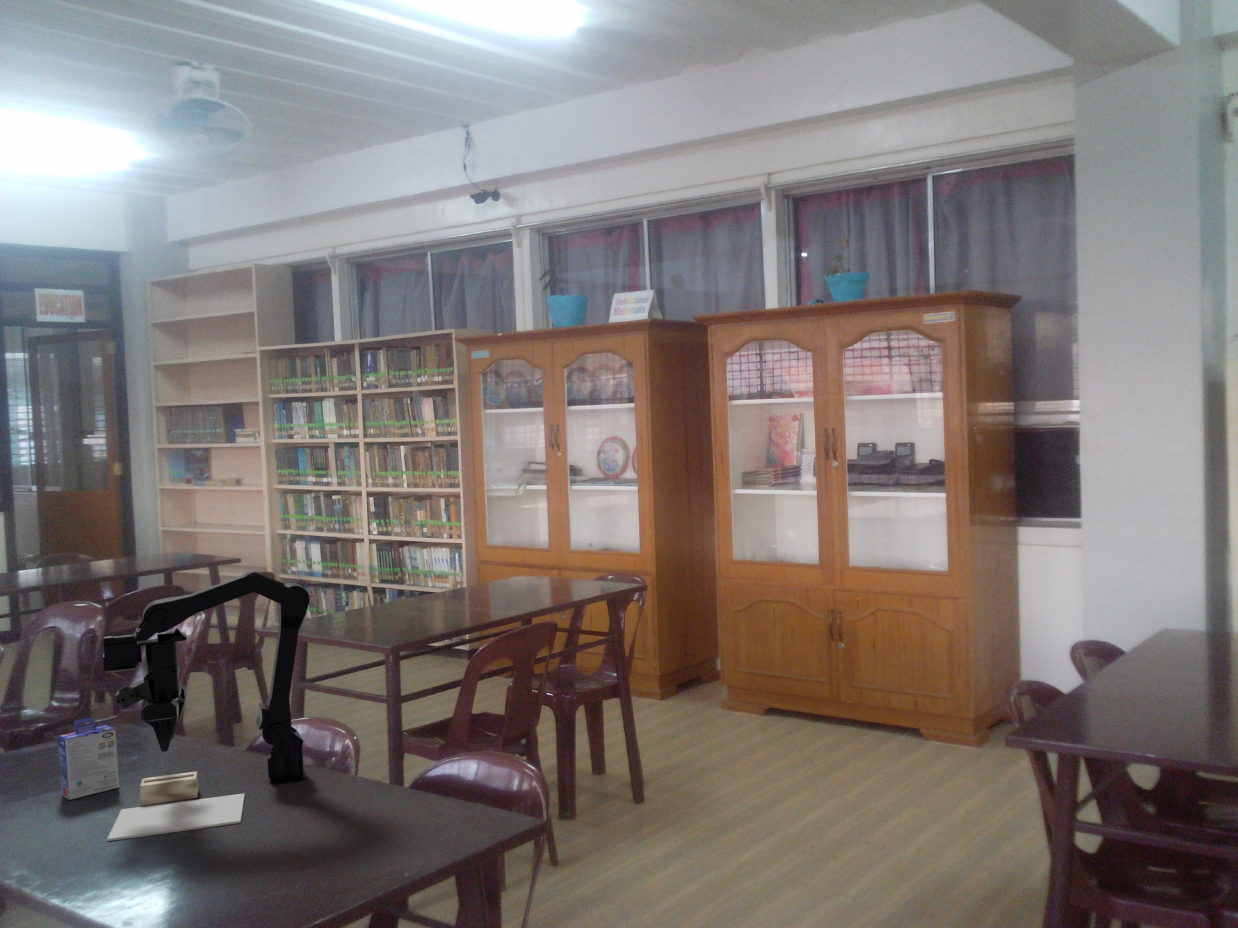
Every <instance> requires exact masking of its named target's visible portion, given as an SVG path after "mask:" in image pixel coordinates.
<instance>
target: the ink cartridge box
mask: <svg viewBox="0 0 1238 928" xmlns="http://www.w3.org/2000/svg"><path fill="white" fill-rule="evenodd" d="M73 723H74V728H75V729H74V730H75V732H70V733H65V734H62V735H57V745H58V746H57V747H58V757H59V758H58V759H59V769H60V783H61V796H62V797H64V798H66V800H68V801H70V800H71V801H72V800H76V799H79V798H83V797H87V796H90V795H94V794H99V793H102V792H103V793H104V792H107V791H111V790H113V789H114V790H115V789H119V788H120V777H119V764H118V762H119V761H118V747H117V745H118V744H117V732H116V731H117V730H116V728H115V727H113V726H111V725H109V724H105V725H99V726H96V724H95V720H94V718H93V717H87V718H83V719H78V720H77V719H76V720H74V721H73ZM82 723H90V724H88V725H83V726H79V725H81V724H82Z"/></svg>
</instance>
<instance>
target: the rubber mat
mask: <svg viewBox="0 0 1238 928" xmlns="http://www.w3.org/2000/svg"><path fill="white" fill-rule="evenodd" d="M245 796H246V793H237V794H230V795H229V794H228V795H222V796H221V795H220V796H214V797H206V798H200V799H199V798H198V799H189V800H181V801H176V802H175V801H174V802H166V803H158V804H151V805H143V806H138V807H130V808H122V809H120V812H119V814H118V816H117V818H116V820H115V823H114V824H113V826H112V828H111V830H110V832H109V834H108V835H107V838H106V842H113V841H118V840H127V839H132V838H140V837H148V836H149V837H150V836H154V835H162V834H170V833H175V832H177V833H178V832H183V831H185V832H186V831H191V830H199V829H206V828H213V827H220V826H229V825H235V824H241V822H242V817H243V816H242V815H243V809H244V803H245Z"/></svg>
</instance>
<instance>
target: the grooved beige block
mask: <svg viewBox="0 0 1238 928" xmlns="http://www.w3.org/2000/svg"><path fill="white" fill-rule="evenodd" d="M198 779H199V778H198V771H190V772H183V773H182V772H181V773H174V774H167V775H159V776H153V777H146V778H142V779H141V782H140V785H139V791H140V792H139V793H140V807H143V806H150V805H157V804H164V803H171V802H175V801H176V802H178V801H185V800H192V799H197V798H198V794H199V782H198V781H199V780H198Z"/></svg>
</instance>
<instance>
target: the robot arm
mask: <svg viewBox="0 0 1238 928" xmlns="http://www.w3.org/2000/svg"><path fill="white" fill-rule="evenodd" d="M253 593H255V594H258V595H259V596H262V597H263V598H266V599H268V600H270V601H273V602H275V603H276V611H277V623H278V624H277V625H278V630H277V631H278V632H277V638H276V645H275V651H274V660H273V667H272V673H271V680H270V688H269V695H268V697H267V698H266V699H267V700H266V701H265V703H260V702H259V703H258V716H257V718H256V720H255V723H256V724H255V725H256V727H257V728H258V730H259V732H260V735H261V737H262V739H263V741H264V742H265V743H266V744H268V745H270V746H271V747H270V749H269V750H270V751H269V752H270V753H269V754H268V755H267V773H268V779H269V780H270V784H278V783H279V784H280V783H286V782H294V781H295V782H297V781H304V780H305V778H306V777H305V770H306V769H305V768H304V767H305V766H304V750H303V744H304V740H303V738H302V736H301V735H300V733H299V731H298V730H297V729H296V728H295V727H293V726H292V725H293V724H292V711H291V701H290V697H291V690H292V682H293V675H294V669H295V663H296V662H295V661H296V655H297V654H296V653H297V646H298V638H299V633H300V630H301V629H300V628H301V627H302V625H303V623H304V622H303V621H304V620H305V618H306V615H307V611H308V608H309V605H310V601H311V600H310V599H311V598H310V597H311V596H310V594H309V592H308V591H307V589H306V588H304V587H303V586H302V585H300V584H298V583H296V582H288V583H284V582H282V581H279V580H276V579H275V578H271V577H269V576H267V575H264V574H262V573H260V571H258V570H249V571H247V572H246V573H244V574H242V575H240V576H239V575H238V576H237V577H234V578H231V579H228V580H226V581H222V582H219V583H217V584H215V585H211V586H209V587H206V588H203V589H201V590H198V591H196V592H193V593H189V594H186V595H179V596H171V597H165V598H160V599H156V600H152V601H151V602H149V603H148V604H146V606H145V608H144V609H143V615H142V621H141V622H140V623H139V625H138V627H136V628H135V631H134V632H133V634H124V635H118V636H117V635H116V636H115V635H109V636H108V635H107V636H104V637H103V638H102V639H103V641H102V642H103V655H102V661H103V664H102V665H103V672H104V673H106V674H107V673H115V672H122V671H123V672H124V671H129V670H137V666H139V664H142V663H143V660H142V659H143V656H142V655H143V654H142V647H143V646H144V653H145V666H146V671H145V675H143V679H141V680H139V681H136V682H134V683H133V684H130V685H129V684H127V685H125V686H124V687H120V688H119V690H118V691H116V693H115V694H114V696H115V698H116V704H118V705H119V706H120V709H121V710H126V709H128V708H129V707H130V706H132V705H134V704H136V703H138V702H140V701H144V702H145V703H146V704H145V705H143V706H142V708H141V710H140V717H141V719H140V720H141V721H143V723H144V724H146V725H149V726H150V727H152V729H153V731H154V733H155V736H156V739H157V743H158V745H159V748H160V751H161V753H164V752H168V751H169V748H170V745H171V743H172V739H174V737H175V734H176V730H177V729H178V724H179V722H180V719H181V716H182V713H183V709H184V707H185V703H186V701H187V700H186V698H187V686H186V685H184V684H183V683H182V682H180V672H181V669H180V667H181V666H179V659H178V658H179V657H178V656H179V655H178V644H177V643H179V642H184V641H185V642H186V641H187V639H188V638H187V634H185V633H184V632H182V631H181V630H180V629H179V628H178V627H176V626H178V625H180V624H182V623H183V622H185V621H186V620H188V619H189V618H190V617H192V616H194V615H196V614H199V613H202V612H204V611H206V610H209V609H211V608H215V607H217V606H219V605H223V604H225V603H227V602H231V601H233V600H236V599H238V598H241V597H244V596H247V595H250V594H253ZM175 627H176V628H175ZM173 628H175V629H174V630H173V631H172V632H168V631H169V630H171V629H173ZM154 635H156V638H152V637H154ZM151 638H152V639H151ZM180 697H181V698H180ZM179 698H180V699H179Z"/></svg>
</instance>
